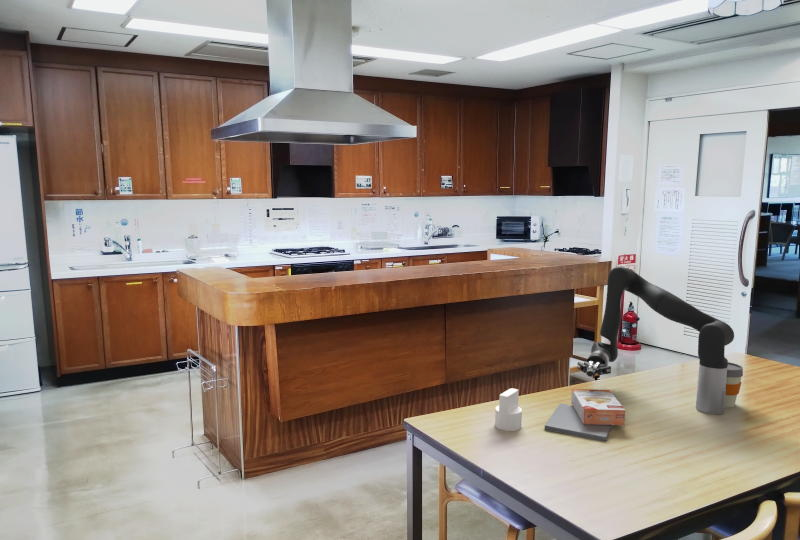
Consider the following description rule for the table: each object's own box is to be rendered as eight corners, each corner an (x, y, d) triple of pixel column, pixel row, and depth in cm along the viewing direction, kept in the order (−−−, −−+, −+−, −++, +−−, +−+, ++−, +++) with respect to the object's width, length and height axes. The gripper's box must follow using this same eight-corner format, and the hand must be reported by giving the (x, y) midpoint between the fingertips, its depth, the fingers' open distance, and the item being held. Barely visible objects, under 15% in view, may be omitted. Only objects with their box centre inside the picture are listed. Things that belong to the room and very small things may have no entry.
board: (615, 416, 212) (616, 413, 212) (605, 441, 192) (606, 437, 191) (559, 407, 221) (559, 403, 221) (544, 429, 201) (544, 425, 201)
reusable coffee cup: (746, 409, 220) (750, 370, 218) (712, 408, 221) (716, 369, 219) (728, 397, 233) (732, 361, 231) (696, 397, 233) (700, 360, 231)
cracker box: (609, 388, 220) (626, 409, 199) (608, 403, 221) (625, 426, 200) (571, 387, 221) (584, 408, 200) (570, 402, 222) (583, 425, 201)
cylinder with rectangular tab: (514, 433, 198) (515, 398, 196) (490, 426, 203) (491, 393, 202) (525, 424, 205) (527, 391, 203) (502, 418, 210) (503, 386, 209)
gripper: (581, 350, 234) (572, 361, 219) (616, 354, 228) (609, 366, 213) (580, 368, 235) (571, 381, 220) (614, 373, 229) (608, 386, 214)
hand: (589, 373), depth 216 cm, fingers closed
